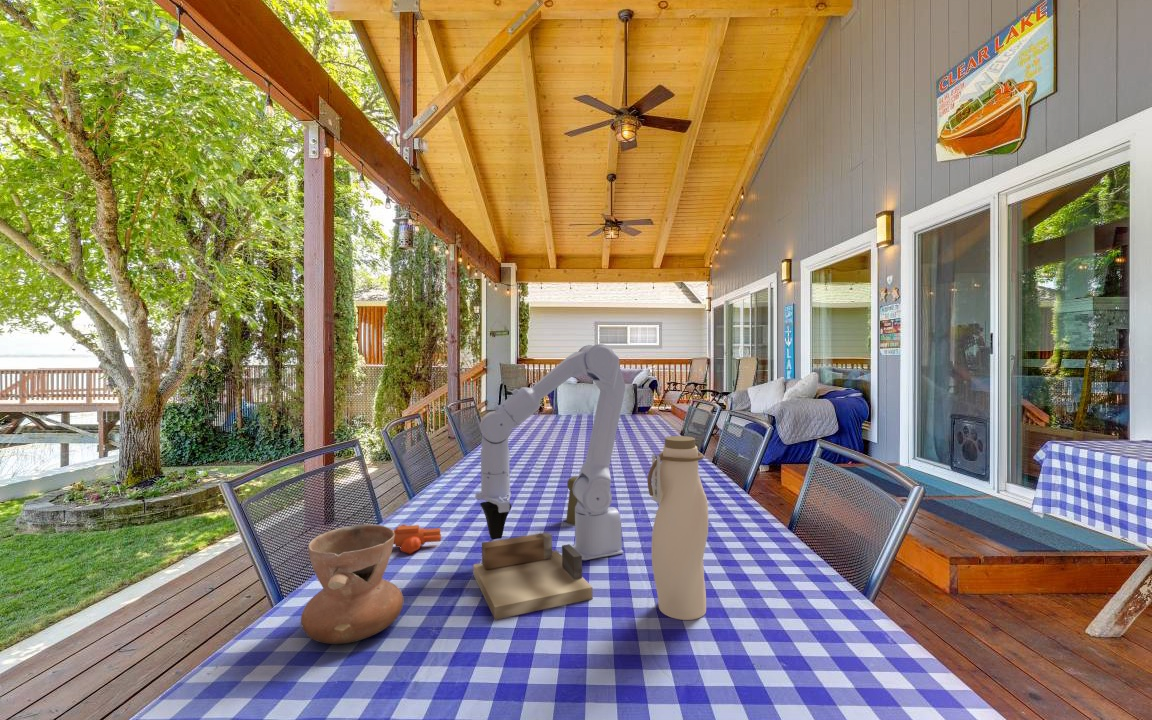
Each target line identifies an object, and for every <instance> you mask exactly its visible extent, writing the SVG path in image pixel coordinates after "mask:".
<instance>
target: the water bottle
mask: <svg viewBox="0 0 1152 720" xmlns="http://www.w3.org/2000/svg"><path fill="white" fill-rule="evenodd" d="M703 459H704V454H703V453H701V452H699V451H698V446H697V445H696V438H695V437H692V436H686V435H683V436H682V435H674V436H673V435H672V436H666V437H665V438H664V445H663V450H662V452H660V453H659V454H658V456H657V455H653V454H652V456H651V462H652V463H651V467H650V468H649V472H648V474H647V475H648V476H647V488H648V492H649V493H648V495H649V496H651V500H653V501H654V502H656V504H658V507H657V510H656V513H655V514H656V515H655V517H654V521H653V526H652V535H651V552H650V553H651V566H652V573H653V579H654V584H655V588H656V589H655V590H656V594H657V601H658V609H659V611H660V612H661V613H662V614H663V615H665V616H667V617H669V618H672V619H675V620H684V621H689V620H690V621H692V620H696V619H699V618H702V617H703V616H705V614H706V613H707V593H706V582H705V571H704V570H705V569H704V567H705V566H704V556H705V555H704V554H705V550H706V546H707V545H706V544H707V541H708V533H709V503H708V499H707V495H706V492H705V491H704V487H703V484H702V480H701V477H700V474H699V461H702V460H703Z"/></svg>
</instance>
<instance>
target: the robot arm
mask: <svg viewBox="0 0 1152 720" xmlns="http://www.w3.org/2000/svg"><path fill="white" fill-rule="evenodd" d="M580 376H588V377H590V379H592V381H593V382H594V384H595V385H596V387H597V388H598V389H599V395H598V401H597V406H596V411H595V416H594V419H593V423H592V429H591V435H590V437H589V438H590V439H589V444H588V448H587V453H586V458H585V462H584V463H583V464H582V466H581V468H580V470H579V475H578V476H577V477H578V478H577V479H576V480H575V482H574V484H573V494H574V496H575V497H576V499H577V500H578V502H577V504H576V506H575V524H574V528H575V529H574V530H575V531H574V532H575V535H574V537H575V540H574V541H575V543H574V544H570V545H571V546H572V547H573V548H574V549H575V550H576V551H577V552H578V553H579V554H580V555H581V556H582V561H588V560H595V559H599V558H600V559H601V558H604V557H609V556H616V555H621V554H624V550H623V549H622V547H623V546H622V539H623V538H622V519H621V514H620V512H619V510H618V509H617V508H616V507H613V506H611V505H612V500H613V496H612V491H611V484H612V477H611V472H610V465H611V459H612V455H613V450H614V446H615V445H614V444H615V440H616V434H617V430H618V427H619V422H620V416H621V410H622V407H623V402H624V397H625V392H626V382H625V379H624V376H623V372H622V369H621V366H620V358H619V356H618V355H617V354H616V353H615V351H614V350H613V349H612V348H611V347H610V346H609V345H607V344H603V343H597V344H594V345H592V344H586V345H584V346H582V347H581V348H580V349H578V351H575V352H573V353H572V354H570V355H568V356H567V357H566V358H564V359H563V360H562V361H561V362H559V363H558V364H557V365H556V366H554V368H553V369H552V370H550V371H549V372H548V373H547V374H546V375H544V376H543V377H542V378H540V379H539V380H538V381H537V382H536V383H535V384H534V385H533V386H532V387H526V386H522V387H520V388H519V389H518V388H514V389H513V390H512V391H511V394H512V395H510V396H509V397H508V398H506V399H505V400H504V401H503V402H501V403H500V404H499V405H498V404H495V405H494V406H493V409H494V411H489V412H487V413H486V414H484V415H483V417H482V418H481V420H480V423H479V431H480V432H481V434H482V435H483V436H481V443H480V444H481V449H480V475H481V476H480V480H481V481H480V482H481V483H480V485H481V486H480V487H481V489H480V492H478V493H475V494H474V495H475V499H477V500H483V502H480V507H481V509H482V510H483V513H484V516H485V519H486V524H487V530H488V534H489V536H490V537H489V538H490V539H491V540H492V541H495V540H502V539H503V535H504V529H505V525H506V521H507V517H508V516H509V513H510V511H511V510H512V504H511V502H510V499H511V495H512V492H511V486H510V485H511V484H510V483H511V482H510V481H511V480H510V479H511V478H510V448H509V438H510V435H511V433H512V431H513V430H512V429H516V428H517V427H519V426H520V425H522V423H524V422H525V421H526V420H527V419H529V418H531V416H532V415H533V414H535V413H536V412H537V411H538V410H539V409H540V407H541V401H542V399H544V398H545V397H546V396H548V395H549V394H551V393H552V392H553V391H555V390H556V389H557V388H558V387H560V386H561V385H562V384H564V383H565V382H567V381H568V380H569V379H570V378H571V379H572V378H573V377H580Z"/></svg>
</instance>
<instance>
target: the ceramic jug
mask: <svg viewBox="0 0 1152 720" xmlns="http://www.w3.org/2000/svg"><path fill="white" fill-rule="evenodd" d="M393 530H394V529H391V528H390V527H388V526H385V525H381V524H368V523H367V524H366V523H365V524H363V523H362V524H356V525H352V526H342V527H338V528H335V529H331V530H329V531H327V532H324V533H322V534H319V535H317V536H316V537H314V538H313V539H312V540H310V541H309V543H308V546H307V550H308V556H309V559H310V560H309V561H310V563H311V566H312V569H313V572H314V574H315V576H316V578H317V580H318V582H319V583H320V585H321V587H322V589H321V590H320V591H319V592H318V593H317V594H315V595H314V596H313V597H312V598H311V599H309V601H308V602H307V603H306V605H305V606H304V608H303V611H302V613H301V617H300V624H301V627H302V629H303V631H304V633H305V634H306V636H308V637H309V639H312V640H314V641H315V642H318V643H319V642H320V643H323V644H331V645H341V644H350V643H354V642H359V641H361V640H364V639H368V638H370V637H372V636H374V635H377V634H378V633H380V632H383V630H385V629H387V628H388V627H389V626H390V625H392V624H393V623H394V622H395V621H396V619H398V617H399V615H400V614H401V612H402V610H403V606H404V596H403V593H402V590H401V589H400V588H399V587H398V586H397V585H396V584H394V583H393V582H391V581H389V580H386V579H385V578H383V577H384V575H385V572H386V570H387V567H388V564H389V561H390V558H391V555H392V551H393V549H394V545H395V544H394V539H395V533H394V531H393Z"/></svg>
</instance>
